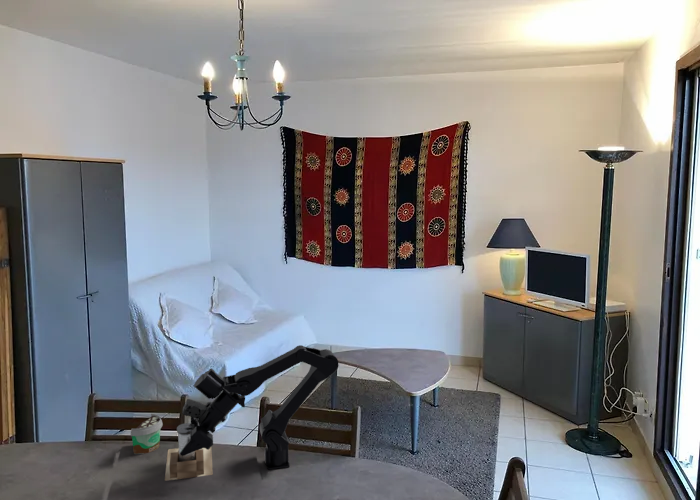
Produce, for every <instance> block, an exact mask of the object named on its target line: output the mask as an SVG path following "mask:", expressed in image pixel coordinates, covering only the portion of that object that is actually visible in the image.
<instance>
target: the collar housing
mask: <svg viewBox="0 0 700 500" xmlns="http://www.w3.org/2000/svg"><path fill="white" fill-rule="evenodd" d="M212 452H213V451H212V446H211V447H210V449H209V450H207V449H206V448H202V449H199V450H196V451H195V460H192V461H183V462H179V447H177V448H176V447H175V448H169V449H167V456H166V465H165V475H164V481H174V480H181V479H182V480H184V479H190V478H199V477H206V476H213V475H214V473H213V455H212V454H213V453H212Z"/></svg>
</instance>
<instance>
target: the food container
mask: <svg viewBox="0 0 700 500" xmlns="http://www.w3.org/2000/svg"><path fill="white" fill-rule="evenodd" d="M163 425H164V424H163V420H162V418H161V416H160V415H158V414H155V413H151V415H150V417H149V418H148V419H146V420H144V421H142V422H141V423H140V424H139V425H138V426H136V428H131V430H130V437H131V439H132V448H133V449H132V451H133V455H144V454H149V453H152V452H154V451H156V450H157V449H159V447H160V443H161V429H162V427H163Z"/></svg>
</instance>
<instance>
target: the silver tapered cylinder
mask: <svg viewBox="0 0 700 500" xmlns="http://www.w3.org/2000/svg"><path fill="white" fill-rule="evenodd" d="M194 428H195V425H194V424H192V423H191V422H187V423H186V422H185V423H181V424H179V425H178V426H177V427H176V433H177V436H178V437H177V440H178V442H177V443H178V448H179V462H183V461H192V460H195V451H194V452H191V453H189V454H186V455H184V456H182V455H181V454H180V452H181V451H182V449H183V448H184V447H185V445H186V444H187V442H188V441H189V439H190V431H193V429H194Z"/></svg>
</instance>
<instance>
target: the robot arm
mask: <svg viewBox="0 0 700 500" xmlns="http://www.w3.org/2000/svg"><path fill="white" fill-rule="evenodd" d="M300 363H304V364H307V365H309V366H310V367H309V370H308V372H307V373H306V375H305V376H304V377H303V378H302V379H301V381H300V382H299V383H298V384H297V386H296V387H295V388H293V390H292V392H291V393H290V394H289V396H288V397H287V398H286V399H285V400H284V401H283V402H282V404H281V405H280V406H279V407H278V408H277V409H276V410H274V411H272V410H271V409H268V410H267V412H266V414H265V415H264V416H263V417H261V418H260V421H261V422H260V424H259V431H260V436H261V439H262V441H263V442H264V443H265V444H266V445H265V448H263V450H264V454H263V455H264V464H265V465H266V467H267V470H276V469H283V468H290V466H291V465H290V462H289V444H290V442H289V440H288V436H287V433H286V429H287V427H288V424H289V422H290V419H292V417H293V416H294V414H296V412H297V411H298V410H299V409H300V407H302V405H303V404H304V402H305V401H306V400H307V399H308V397H309V396H310V395H311V394H312V393H313V392H314V390H315V389H316V388H317V387H318V385H319V384H320V383H322V382H323V381H326V380H327V379H329V378H330V377H331V376H332V375H333V374H335V372H337V370H338V368H339V366H340V365H339V360H338V357H336V355H335V354H334V353H333V351H332V350H330V349H327V348H326V349H318V348H313V347H309V346H308V347H307V346H303V345H297V346H295V347H294V348H292V349H290V350H289V351H287V352H285V353H283V354H281V355H279V356H276V357H274V358H273V359H271V360H269V361H266V362H264V363H263V364H261V365H258V366H253V367H248V368H245V369H242V370H239V371H237V372H236V373H235V374H231V375H227V376H223V377H221V376H220V375H219V374H218V373H217V372H216V371H215V370H214V369H213V368H210V369H208V370H206V371H205V372H204V373H202V374H200V375H199V377H198V378H197V379H196V381H195V382H194V384H193V387H194V388H195V389H196V390H197V391H198V392H200V393H201V394H202V395H204V396H205V397H206V398H207V399H208V400H210V399H212V400H213V401H208V402H206V403H205V404H204V403H201V402H199V401H197V400H193V399H190V398H187V399H186V402H185V403H184V405H183V407H182V415H184V416H186V417H190V423H192V424H194V425H195V428H194V429H193V431H190V439H189V441H188V442H187V444H186V445H185V447H184V448H183V449H182V451H181V452H180V454H181V455H182V456H184V455H186V454H189V453H191V452H194V451H196V450H199V449H202V448H206V449H207V450H209V449H210V447H211V448H212V447H213V445H214V437H213V436H214V434H213V433H215V432H216V427H218V425H219V424H220V423H224V422H225V421H226V417H227V416H228V414H230V412H231V411H232V410H233V409H234V408H235V407H236V406H237V405H239V406H241V407H242V408H245V407H246V404H245V402H246V397H247V396H250V395H251V394H253V392H255V391H257V390H258V389H259V388H260V387H261V386H262V385H263V384H264V383H265V382H267V380H269V379H271V378H273V377H275V376H277V375H280V373H282V372H285V371H287V370H288V369H289V370H290V368H293V367H294V366H296V365H298V364H300Z"/></svg>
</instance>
